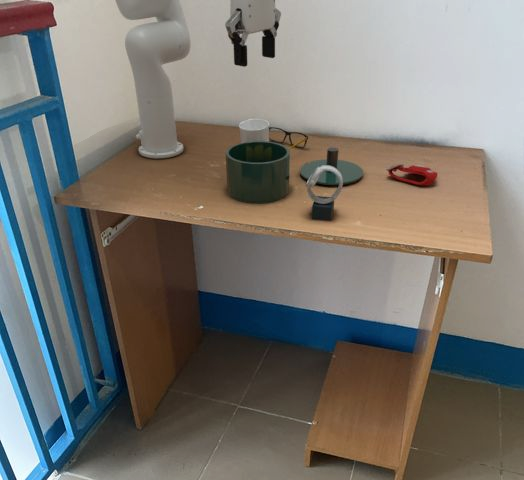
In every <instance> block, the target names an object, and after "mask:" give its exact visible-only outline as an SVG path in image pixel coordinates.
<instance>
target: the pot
mask: <svg viewBox="0 0 524 480" xmlns="http://www.w3.org/2000/svg"><path fill="white" fill-rule="evenodd" d="M288 148H289V147H287V146H285V145H284V144H282V143H276V142H273V141H269V142H267V141H250V142H243V143H241V142H239V143H236V144H233V145H231V146H229V147H228V148H227V149H226V150H225V167H226V168H225V169H226V185H227V186H226V189H227V194H228V195H229V197H231V198H232V199H234V200H236V201H239V202H242V203H248V204H268V203H274V202H276V201H280V200H281V199H284V198H286V196H287V195H288V194H289V191H290V161H291V160H290V159H291V157H290V156H291V152H290V151H291V149H288Z"/></svg>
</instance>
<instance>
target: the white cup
mask: <svg viewBox="0 0 524 480" xmlns="http://www.w3.org/2000/svg"><path fill="white" fill-rule="evenodd" d="M269 127H270V121H268V120H266V119H263V118H249V119H245V120H243V121H241V122H240V123H238V129H239V138H240V143H243V142H250V141H267V142H270V140H269V137H270V131H269Z"/></svg>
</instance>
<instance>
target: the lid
mask: <svg viewBox="0 0 524 480" xmlns="http://www.w3.org/2000/svg"><path fill="white" fill-rule="evenodd" d="M322 165H329V166H333V167H335V168H336V169H337V170H338V171H339V172H340V173H341V175H342V178H343V183H342V184H343V185H348V184H352V183H356V182H357V181H359V180H361V179H362V177H363V175H364V170H363V168H362V167H361V166H360V165H358V164H356V163H354V162H351V161H347V160H341V159H339V148H337V147H333V146H332V147H328V148H327V150H326V159H325V158H324V159H317V160H312V161H309V162H305V164H303V165H301V167H300V168H299V174H300V176H301V177H302V178H303V179H304V180H307V181H308V180H309V178H310V176H311V175H312V173H313V172H314V170H315V169H316V168H317V167H321V166H322ZM339 183H340V180H339V178H338V176H337V175H336V174H334V172H330V171H326V170H325V171H323V172H322V174H321V176H320V178H319V179H318V181H317V182H316V184H319V185H326V186H339Z"/></svg>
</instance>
